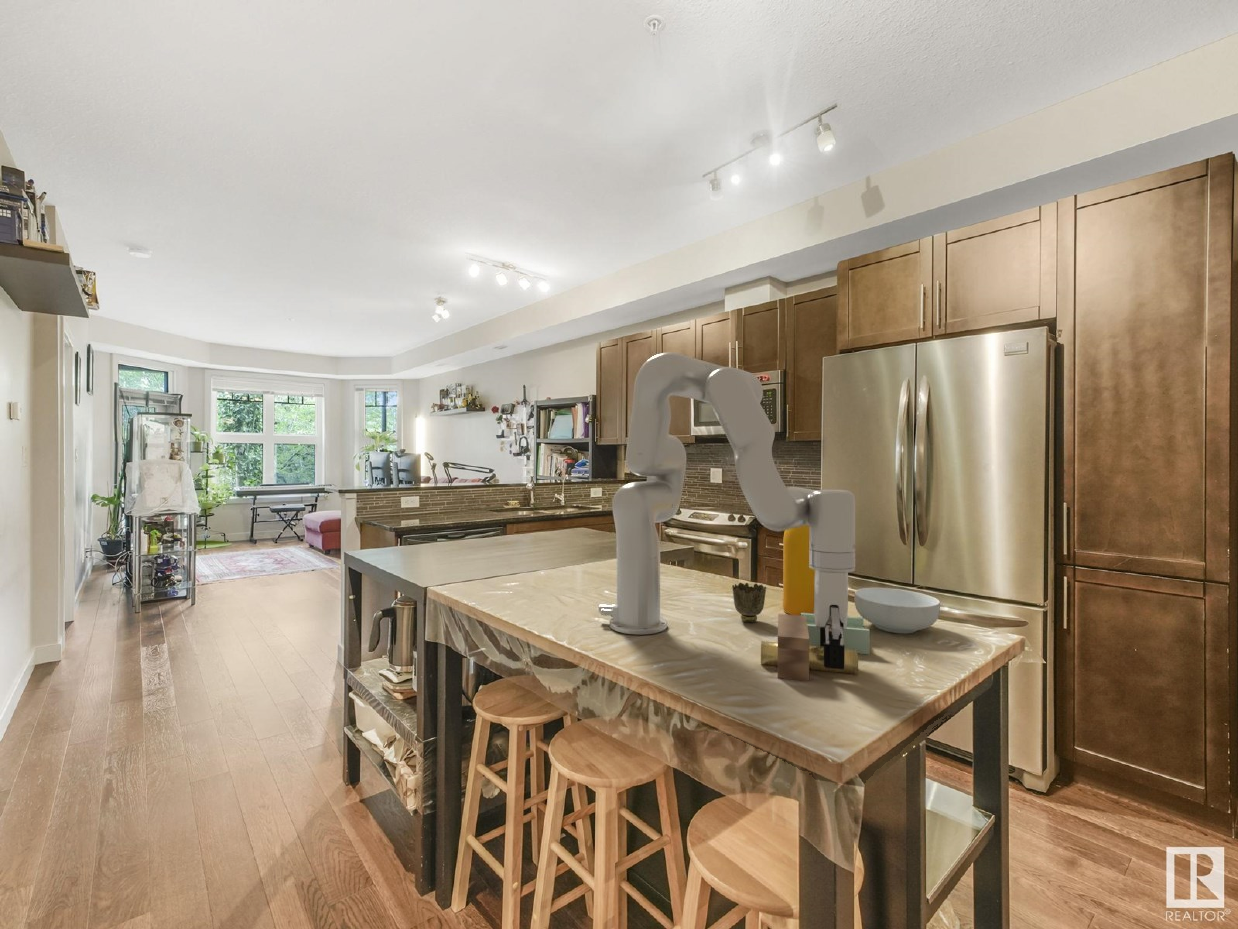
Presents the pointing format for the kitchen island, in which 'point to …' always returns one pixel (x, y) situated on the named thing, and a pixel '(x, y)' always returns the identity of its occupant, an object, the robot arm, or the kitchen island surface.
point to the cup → (749, 601)
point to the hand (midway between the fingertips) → (831, 658)
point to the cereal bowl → (897, 609)
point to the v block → (852, 634)
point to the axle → (811, 658)
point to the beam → (793, 647)
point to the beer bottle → (797, 572)
